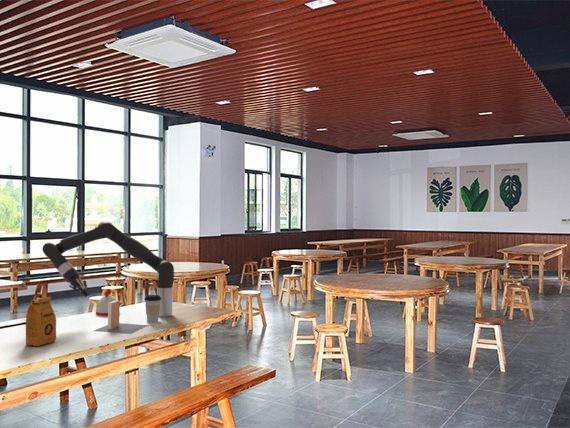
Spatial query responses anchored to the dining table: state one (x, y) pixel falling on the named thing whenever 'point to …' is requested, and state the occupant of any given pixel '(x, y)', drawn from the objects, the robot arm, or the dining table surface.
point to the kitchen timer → (104, 304)
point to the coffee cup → (152, 307)
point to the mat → (122, 328)
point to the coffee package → (40, 323)
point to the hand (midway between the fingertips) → (87, 295)
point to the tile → (113, 314)
